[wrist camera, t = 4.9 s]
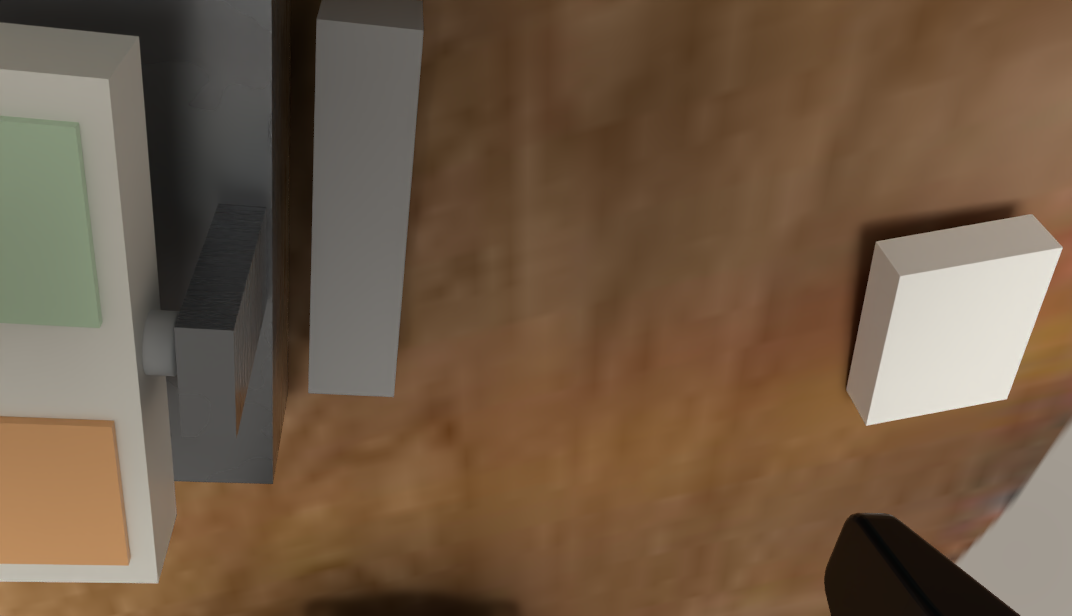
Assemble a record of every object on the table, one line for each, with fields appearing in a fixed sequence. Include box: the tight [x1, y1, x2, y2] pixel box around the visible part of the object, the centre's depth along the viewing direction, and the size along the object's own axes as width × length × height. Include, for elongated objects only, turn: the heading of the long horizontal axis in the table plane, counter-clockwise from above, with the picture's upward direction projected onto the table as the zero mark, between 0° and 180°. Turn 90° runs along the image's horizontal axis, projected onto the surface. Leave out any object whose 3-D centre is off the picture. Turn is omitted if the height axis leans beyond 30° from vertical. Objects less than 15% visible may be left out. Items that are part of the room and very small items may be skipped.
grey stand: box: [0, 0, 291, 484], centre depth 16 cm, size 11×7×7 cm, turn 172°
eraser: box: [846, 214, 1063, 426], centre depth 23 cm, size 1×5×4 cm
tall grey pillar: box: [308, 0, 424, 397], centre depth 19 cm, size 8×2×2 cm, turn 172°
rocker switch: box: [0, 22, 180, 583], centre depth 14 cm, size 9×5×2 cm, turn 172°
